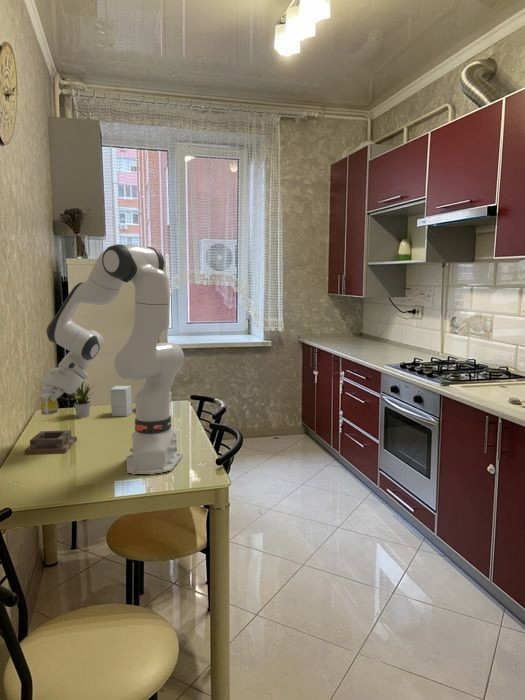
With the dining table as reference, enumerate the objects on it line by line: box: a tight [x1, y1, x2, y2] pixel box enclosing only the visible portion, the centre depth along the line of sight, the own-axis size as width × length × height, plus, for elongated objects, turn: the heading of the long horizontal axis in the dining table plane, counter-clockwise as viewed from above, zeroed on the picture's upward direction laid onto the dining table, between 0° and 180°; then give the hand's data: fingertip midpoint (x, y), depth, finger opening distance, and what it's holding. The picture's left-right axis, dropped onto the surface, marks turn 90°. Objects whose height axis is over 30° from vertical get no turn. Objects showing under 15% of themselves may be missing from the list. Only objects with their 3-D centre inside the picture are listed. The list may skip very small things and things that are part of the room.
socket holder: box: [24, 429, 78, 455], centre depth 181 cm, size 14×14×4 cm
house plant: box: [69, 380, 93, 418], centre depth 224 cm, size 14×14×16 cm
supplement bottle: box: [40, 386, 58, 416], centre depth 179 cm, size 5×5×10 cm
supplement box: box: [109, 385, 133, 417], centre depth 226 cm, size 7×7×13 cm
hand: (47, 398), depth 179 cm, fingers closed on supplement bottle, 5 cm apart
